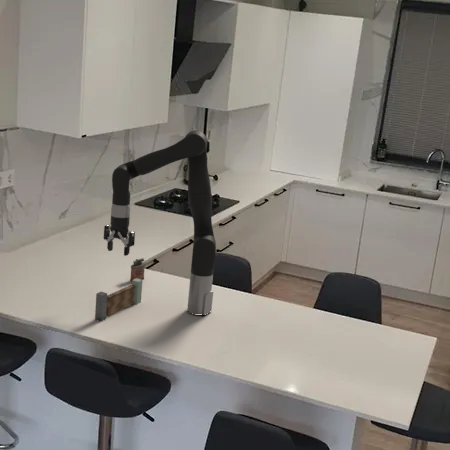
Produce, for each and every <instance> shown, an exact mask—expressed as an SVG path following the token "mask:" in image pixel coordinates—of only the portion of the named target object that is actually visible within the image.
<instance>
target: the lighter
mask: <svg viewBox="0 0 450 450" xmlns="http://www.w3.org/2000/svg"><path fill="white" fill-rule="evenodd" d="M145 267H146V262H145V258H144V257H142V258H136V259H135V260H133V264H131V265H130V279H129V282H130V283H132V280H134V279H136V278H138V279H141V280H142V281H143V280H145Z"/></svg>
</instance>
